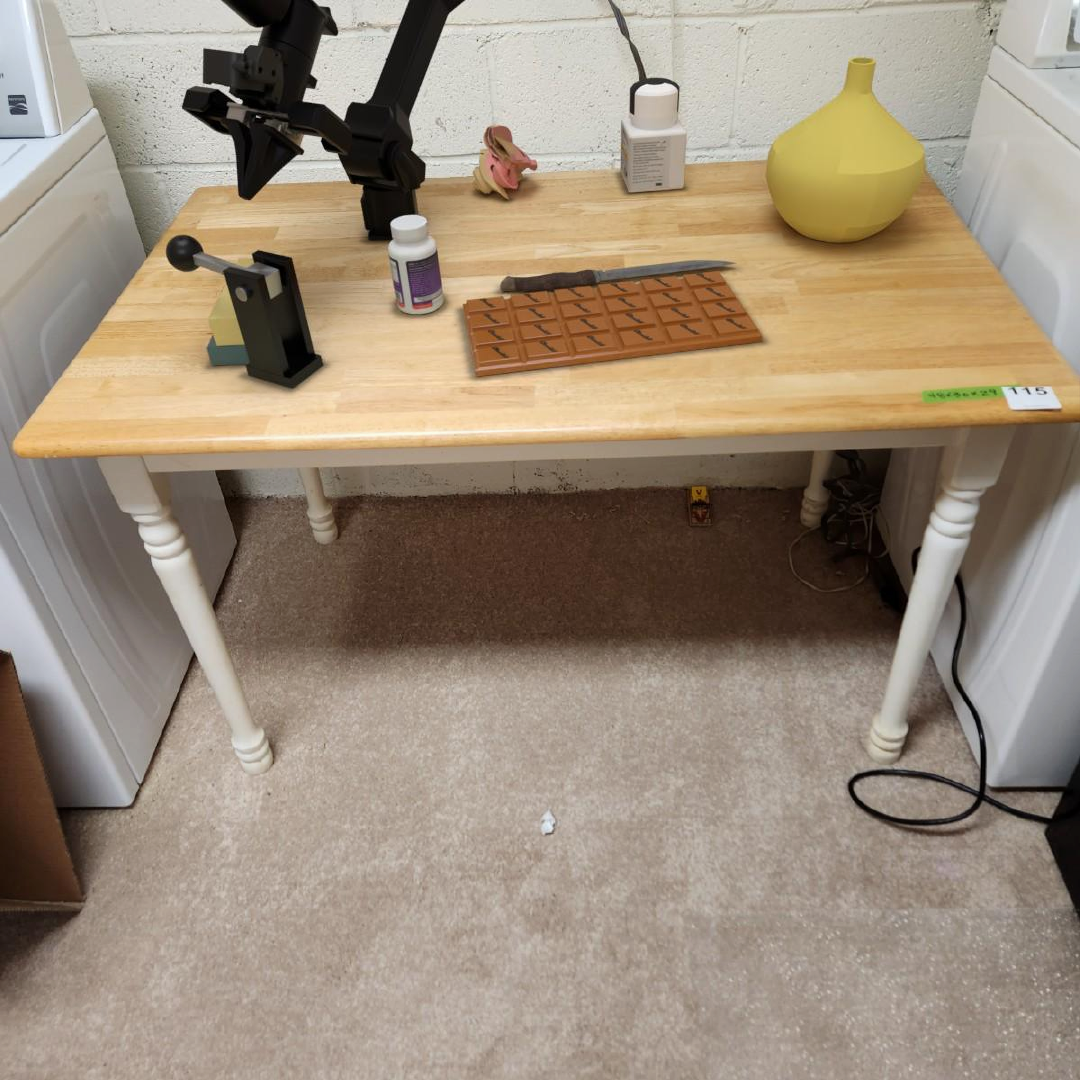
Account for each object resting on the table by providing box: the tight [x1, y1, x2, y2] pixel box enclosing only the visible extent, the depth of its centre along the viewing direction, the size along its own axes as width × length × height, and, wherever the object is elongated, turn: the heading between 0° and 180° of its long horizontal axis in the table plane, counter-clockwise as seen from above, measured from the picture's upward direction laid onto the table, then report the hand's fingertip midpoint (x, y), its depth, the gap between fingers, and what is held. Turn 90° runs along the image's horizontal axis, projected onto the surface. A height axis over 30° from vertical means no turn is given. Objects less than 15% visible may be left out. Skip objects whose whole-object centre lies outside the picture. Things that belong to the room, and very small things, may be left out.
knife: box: [500, 259, 737, 292], centre depth 108 cm, size 28×3×1 cm, turn 99°
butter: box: [207, 257, 254, 346], centre depth 100 cm, size 14×3×3 cm, turn 1°
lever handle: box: [165, 234, 282, 299], centre depth 91 cm, size 13×4×4 cm, turn 61°
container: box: [620, 77, 688, 194], centre depth 125 cm, size 8×8×13 cm
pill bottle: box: [387, 214, 445, 315], centre depth 102 cm, size 5×5×10 cm
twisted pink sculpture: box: [471, 124, 539, 200], centre depth 128 cm, size 9×10×10 cm
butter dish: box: [206, 334, 250, 367], centre depth 102 cm, size 5×14×2 cm, turn 1°
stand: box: [223, 249, 324, 389], centre depth 92 cm, size 6×6×12 cm
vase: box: [765, 56, 927, 243], centre depth 109 cm, size 18×18×19 cm
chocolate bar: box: [462, 270, 763, 377], centre depth 100 cm, size 14×30×1 cm, turn 99°
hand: (244, 198), depth 97 cm, fingers closed
